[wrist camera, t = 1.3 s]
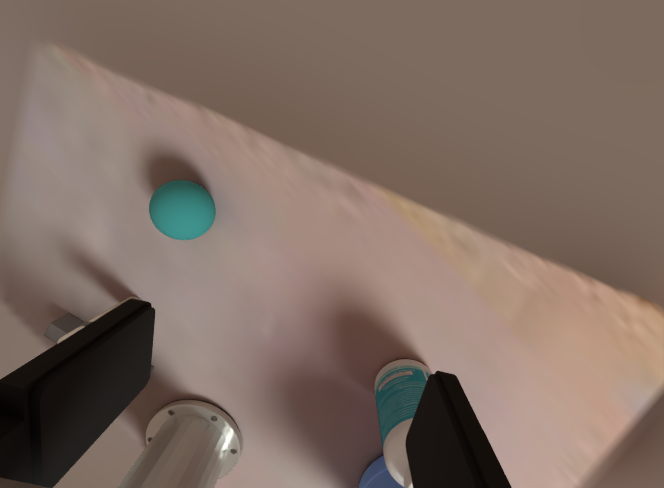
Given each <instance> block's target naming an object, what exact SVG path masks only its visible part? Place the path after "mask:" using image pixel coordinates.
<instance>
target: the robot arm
mask: <svg viewBox="0 0 664 488" xmlns="http://www.w3.org/2000/svg"><path fill="white" fill-rule="evenodd" d="M154 322H155V309H154V308H152V307H151V303H149V302H146V301H142V300H137V299H133V298H131V299H129V300H127V301H125V302H124V303H122V304H120V305H119V306H117V307H116V308H114V309H112V310H111V311H109V312H108V313H106V314H104V315H103V316H101V317H100V318H98V319H96V320H95V321H93V322H92V323H90V324H88V325H87V326H85V327H84V328H82V329H80V330H79V331H77V332H76V333H74V334H72V335H71V336H69V337H68V338H66V339H64V340H63V341H61V342H60V343H58V344H56V345H55V346H53V347H52V348H50V349H48V350H47V351H45V352H44V353H42V354H40V355H39V356H37V357H36V358H34V359H32V360H31V361H29V362H28V363H26V364H25V365H23V366H21V367H20V368H18V369H17V370H15V371H13V372H12V373H10V374H9V375H7V376H5V377H4V378H2V379H1V380H0V488H53V487H54V486H55V485H56V484H57V483H58V482H59V480H60V479H61V478H62V477H63V476H64V475H65V474H66V473H67V472H68V471H69V469H70V468H71V467H72V466H73V465H74V464H75V463H76V462H77V461H78V460H79V459H80V457H81V456H82V455H83V454H84V453H85V452H86V451H87V450H88V449H89V447H90V446H91V445H92V444H93V443H94V442H95V441H96V440H97V439H98V438H99V437H100V435H101V434H102V433H103V432H104V431H105V430H106V429H107V428H108V427H109V425H110V424H111V423H112V422H113V421H114V420H115V419H116V418H117V417H118V416H119V415H120V413H121V412H122V411H123V410H124V409H125V408H126V407H127V406H128V405H129V404H130V402H131V401H132V400H133V399H134V398H135V397H136V396H137V395H138V394H139V393H140V391H141V390H142V389H143V388H144V387H145V386H146V384H147V383H148V380H149V378H150V371H151V359H152V347H153V334H154ZM145 438H146V446H147V447H146V448H145V450H144V451H143V453H142V454H141V455H140V457H139V458H138V460H137V461H136V462H135V464H134V465H133V467H132V468H131V469H130V471H129V472H128V474H127V475H126V476H125V478H124V479H123V481H122V482H121V483H120V485H119V486H118V487H117V488H214V487H215V484H216V482H217V480H218V479H220V478H222V477H224V476H226V475H227V474H228V473H229V472H230V471H232V470H233V468H234V467H235V465H236V464H237V461H238V459H239V456H240V453H241V449H242V439H241V435H240V432H239V430H238V428H237V426H236V424H235V423H234V422H233V420H232V419H231V418H230V417H229V416H228V415H227V414H226V413H225V412H223V411H222V410H220V409H219V408H217V407H215V406H213V405H211V404H209V403H205V402H202V401H196V400H181V401H176V402H173V403H170V404H168V405H166V406H164V407H163V408H161V409H160V410H159V411H158V412H157V413H156V414H155V415H154V417H153V418H152V420H151V421H150V422H149V424H148V427H147V429H146V436H145ZM405 446H406V453H407V458H408V463H409V469H410V474H411V479H412V484H413V488H511V486H510V484H509V481H508V479H507V477H506V475H505V473H504V471H503V469H502V467H501V465H500V463H499V461H498V459H497V457H496V455H495V453H494V451H493V449H492V447H491V445H490V443H489V441H488V439H487V437H486V435H485V433H484V431H483V429H482V427H481V425H480V423H479V421H478V419H477V417H476V415H475V413H474V411H473V409H472V407H471V405H470V403H469V401H468V399H467V397H466V395H465V393H464V391H463V389H462V387H461V385H460V383H459V380H458V378H457V377H456V375H454V374H449V373H445V372H441V371H437V372H436V373H435V374H430V375H429V377H428V380H427V383H426V385H425V388H424V391H423V393H422V396H421V399H420V401H419V404H418V407H417V409H416V412H415V415H414V417H413V420H412V423H411V425H410V428H409V430H408V433H407V436H406V443H405Z"/></svg>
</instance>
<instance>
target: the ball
mask: <svg viewBox="0 0 664 488" xmlns="http://www.w3.org/2000/svg"><path fill="white" fill-rule="evenodd" d="M149 213H150V217H151V220H152V222H153V224H154V225H155V226H156V228H157V229H158V230H159V231H160V232H162V233H163V234H164V235H166V236H168V237H170V238H173V239H178V240H190V239H194V238H197V237H199V236H201V235H203V234H204V233H206V232H207V231H208V230H209V228H210V227H211V226H212V224H213V222H214V219H215V213H216V211H215V204H214V201H213V199H212V197H211V195H210V194H209V193H208V192H207V191H206V190H205V189H204V188H203V187H202V186H200V185H199V184H196V183H194V182H191V181H187V180H175V181H170V182H168V183H165V184H164V185H162V186H161V187H159V188H158V189H157V190H156V191H155V193H154V194H153V196H152V198H151V200H150V204H149Z"/></svg>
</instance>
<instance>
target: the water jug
mask: <svg viewBox="0 0 664 488" xmlns="http://www.w3.org/2000/svg"><path fill="white" fill-rule="evenodd" d="M358 488H404V487H403V486H402V485H400V484H399V483H398V482H397V481H396V480H395V479H394V478H393V477H392V476H391V474H390V473H389V471H388V469H387V467H386V464H385V459H384V455H383V456H381V457H379V458H378V459H377V460H375V461H374V462H373V463H372V464H371V465H370V466H369V467H368V468H367V470H366V471H365V473H364V474H363V476H362V478H361V481H360V483H359V487H358Z"/></svg>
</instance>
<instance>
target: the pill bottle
mask: <svg viewBox="0 0 664 488" xmlns="http://www.w3.org/2000/svg"><path fill="white" fill-rule="evenodd" d="M430 374H432V372H431V371H430V370H429V369H428V368H427V367H426V366H425V365H423V364H422V363H420V362H418V361H415V360H410V359H400V360H396V361H393V362H391V363H389V364H387V365H386V366H384V367H383V368H382V369H381V370H380V372H379V373H378V375H377V377H376V380H375V386H374V388H375V397H376V404H377V411H378V418H379V425H380V432H381V439H382V446H383V453H384V459H385V464H386V467H387V469H388V471H389V473H390V474H391V476H392V477H393V478H394V479H395V480H396V481H397V482H398V483H399V484H400V485H402V486H403V487H404V488H413V484H412V479H411V474H410V469H409V463H408V458H407V453H406V446H405V443H406V436H407V433H408V430H409V428H410V425H411V423H412V420H413V417H414V415H415V412H416V409H417V407H418V404H419V401H420V399H421V396H422V393H423V391H424V388H425V385H426V383H427V380H428V377H429V375H430Z"/></svg>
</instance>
